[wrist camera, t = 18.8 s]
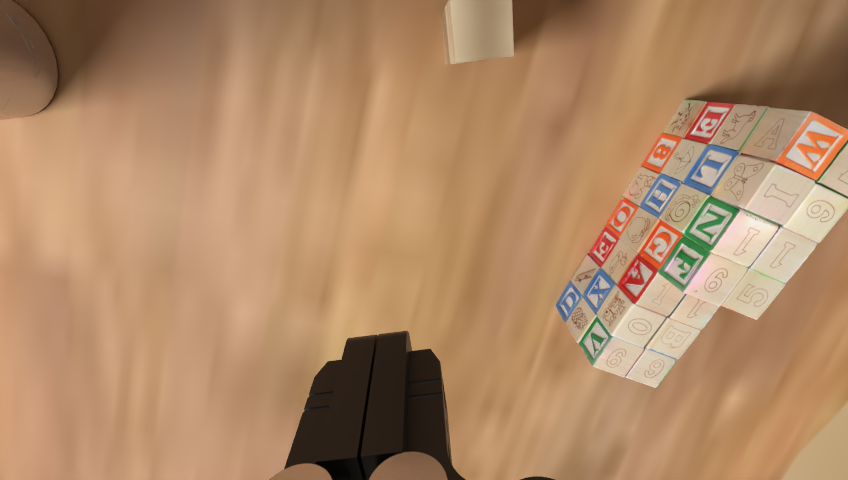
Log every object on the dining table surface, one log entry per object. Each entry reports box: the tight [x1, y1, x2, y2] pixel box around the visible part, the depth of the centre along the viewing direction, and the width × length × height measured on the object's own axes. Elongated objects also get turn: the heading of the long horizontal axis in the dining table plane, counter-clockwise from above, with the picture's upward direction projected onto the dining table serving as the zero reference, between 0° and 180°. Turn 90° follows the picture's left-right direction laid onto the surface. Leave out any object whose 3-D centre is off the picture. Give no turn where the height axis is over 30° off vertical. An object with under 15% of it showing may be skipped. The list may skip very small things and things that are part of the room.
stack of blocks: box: [556, 99, 848, 388], centre depth 33 cm, size 21×6×12 cm, turn 157°
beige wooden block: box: [442, 0, 514, 65], centre depth 28 cm, size 4×4×8 cm
